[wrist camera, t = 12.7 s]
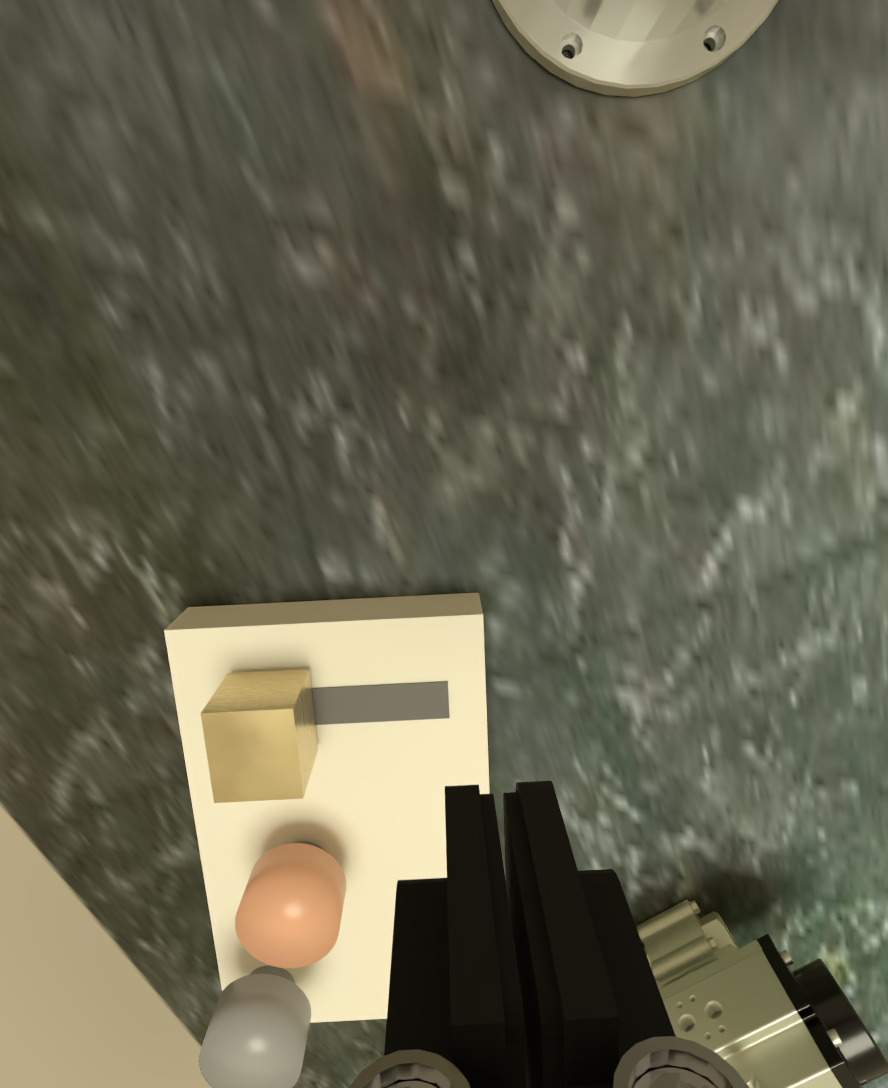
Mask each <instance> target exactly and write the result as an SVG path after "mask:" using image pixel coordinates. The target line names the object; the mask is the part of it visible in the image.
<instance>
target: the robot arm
mask: <svg viewBox="0 0 888 1088" xmlns="http://www.w3.org/2000/svg"><path fill="white" fill-rule="evenodd" d="M492 2H493V3H494V5H495V7H496V9H497V11H498V13H499V15H500V17H501V18H502V20H503V22H504V24H505V26H506V27H507V29H508V30H509V31H510V32H511V34H512V35H513V36H514V37H515V39H516V40H517V41H518V43H519V44H520V45H521V46H522V48H523V49H524V50H525V51H526V52H527V53H528V54H529V55H530V56H531V57H532V58H534V59H535V60H536V61H537V62H538V63H540V64H541V65H542V66H543V67H544V68H545V69H547V70H548V71H549V72H550V73H552V74H554V75H556V76H558V77H559V78H561V79H563V80H565V81H567V82H569V83H571V84H572V85H574V86H576V87H579V88H583V89H586V90H590V91H593V92H597V93H600V94H604V95H613V96H629V97H637V96H644V95H650V94H657V93H663V92H667V91H669V90H672V89H675V88H677V87H680V86H683V85H685V84H688V83H691V82H693V81H695V80H697V79H698V78H700V77H701V76H703V75H705V74H706V73H708V72H710V71H711V70H713V69H714V68H716V67H718V66H719V65H721V64H722V63H723V62H724V61H725V60H726V59H727V58H729V57H730V56H731V55H732V54H733V53H734V52H735V51H736V50H737V49H738V48H740V47H741V46H742V45H743V44H744V43H745V42H746V41H747V40H748V39H749V38H750V36H751V35H752V34H753V33H754V32H755V31H756V30H757V28H758V27H759V26H760V25H761V24H762V23H763V22H764V21H765V20H766V19H767V17H768V16H769V14H770V13H771V11H772V9H773V8H774V6H775V5H776V3H777V2H778V0H492ZM704 43H707V44H709V45H710V47H711V51H708V50H707V49H706V48H705V47H704ZM563 50H570V51H571V52H572V54H573V58H572V59H568V58H565V57H564V56H563V55H562V53H561V52H562V51H563ZM503 801H504V835H505V869H506V881H505V874H504V867H503V860H502V853H501V846H500V839H499V832H498V825H497V817H496V810H495V803H494V796H493V794H480V790H479V784H478V785H459V786H445V821H446V859H447V878H431V879H412V880H398V882H397V888H396V900H395V914H394V928H393V942H392V955H391V969H390V983H389V997H388V1011H387V1025H386V1039H385V1053H384V1056H383V1057H380V1058H378V1059H377V1060H375V1061H374V1062H373V1063H371V1064H370V1065H369V1066H367V1067H366V1068H365V1069H363V1070H362V1071H361V1072H360V1073H359V1075H358V1076H357V1077H356V1078H355V1080H354V1081H353V1082H352V1084H351V1085H350V1086H349V1087H348V1088H749V1087H748V1085H747V1084H746V1083H745V1081H744V1080H743V1079H742V1077H741V1076H740V1075H739V1073H738V1072H737V1071H736V1069H735V1068H734V1067H732V1066H731V1065H730V1064H729V1063H728V1062H727V1061H725V1060H724V1059H723V1058H722V1057H721V1056H719V1055H718V1054H717V1053H716V1052H714V1051H712V1050H710V1049H708V1048H706V1047H704V1046H702V1045H700V1044H699V1043H697V1042H695V1041H691V1040H687V1039H682V1038H678V1037H676V1035H675V1033H674V1030H673V1027H672V1024H671V1022H670V1019H669V1016H668V1013H667V1011H666V1008H665V1005H664V1002H663V1000H662V997H661V994H660V991H659V989H658V986H657V983H656V980H655V978H654V975H653V972H652V969H651V967H650V964H649V961H648V958H647V956H646V953H645V950H644V947H643V945H642V942H641V939H640V936H639V934H638V931H637V928H636V925H635V923H634V920H633V917H632V914H631V912H630V909H629V906H628V903H627V901H626V898H625V895H624V892H623V890H622V887H621V884H620V881H619V879H618V877H617V875H616V873H615V871H614V870H613V869H606V870H587V871H578V870H577V867H576V863H575V860H574V856H573V853H572V849H571V846H570V842H569V839H568V835H567V832H566V828H565V825H564V821H563V818H562V815H561V811H560V808H559V804H558V801H557V797H556V794H555V790H554V787H553V784H552V782H551V781H537V782H518V783H516V792H513V793H504V796H503Z"/></svg>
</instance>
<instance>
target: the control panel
mask: <svg viewBox="0 0 888 1088" xmlns="http://www.w3.org/2000/svg"><path fill="white" fill-rule="evenodd" d="M164 632H165V639H166V645H167V651H168V657H169V663H170V670H171V676H172V682H173V688H174V694H175V701H176V707H177V713H178V719H179V725H180V732H181V738H182V744H183V750H184V757H185V763H186V769H187V775H188V781H189V788H190V794H191V800H192V806H193V812H194V819H195V825H196V831H197V837H198V843H199V850H200V856H201V862H202V868H203V875H204V881H205V887H206V893H207V899H208V906H209V912H210V918H211V924H212V930H213V937H214V943H215V949H216V955H217V962H218V968H219V974H220V980H221V986H222V991H223V990H224V989H225V988H226V987H227V986H228V985H229V984H230V983H232V982H233V981H235V980H237V979H239V978H241V977H244V976H247V975H249V974H250V973H251V972H252V971H253V970H255V969H257V968H259V967H262V966H267V965H268V964H265V963H263V962H261V961H259V960H257V959H256V958H254V957H253V956H252V955H250V954H249V953H248V952H247V951H246V950H245V949H244V947H243V946H242V945H241V943H240V941H239V939H238V937H237V934H236V930H235V917H236V913H237V910H238V907H239V905H240V902H241V899H242V896H243V894H244V891H245V888H246V885H247V883H248V880H249V877H250V874H251V872H252V869H253V867H254V865H255V863H256V862H257V861H258V859H259V858H260V857H261V856H262V855H263V854H264V853H266V852H267V851H269V850H271V849H273V848H275V847H277V846H280V845H284V844H291V843H295V842H300V841H306V842H311V843H314V844H316V845H318V846H320V847H321V848H322V849H323V850H324V851H326V852H327V853H329V854H330V855H331V856H333V857H334V858H335V859H336V861H337V862H338V863H339V864H340V866H341V867H342V869H343V871H344V874H345V878H346V893H345V899H344V905H343V911H342V917H341V923H340V929H339V935H338V938H337V941H336V943H335V945H334V947H333V948H332V950H331V951H330V952H329V953H328V954H327V955H326V956H325V957H323V958H322V959H320V960H319V961H317V962H315V963H313V964H311V965H308V966H304V967H300V968H283V969H285V970H287V971H288V972H289V973H290V974H291V975H292V976H293V978H294V980H295V983H296V985H297V986H298V987H299V988H300V989H301V990H302V991H303V992H304V993H305V995H306V996H307V998H308V1000H309V1003H310V1006H311V1021H310V1023H311V1022H331V1021H350V1020H369V1019H387V1011H388V997H389V983H390V969H391V955H392V942H393V928H394V914H395V900H396V888H397V882H398V880H412V879H431V878H447V859H446V821H445V786H459V785H478V784H479V790H480V794H490V793H489V765H488V737H487V709H486V681H485V653H484V624H483V611H482V606H481V601H480V596H479V593H460V594H440V595H420V596H400V597H380V598H360V599H341V600H321V601H301V602H281V603H261V604H241V605H221V606H201V607H188V608H187V609H186V610H185V611H184V612H183V613H182V614H181V615H180V616H179V617H177V618H176V619H175V620H174V621H173V622H172V623H171V624H170V625H169V626H168V627H167V628H166V629H165V630H164ZM301 669H310V679H311V688H312V698H313V707H314V717H315V726H316V736H317V745H318V752H317V755H316V758H315V762H314V765H313V768H312V772H311V775H310V778H309V781H308V785H307V788H306V791H305V795H304V798H303V799H285V800H266V801H246V802H226V803H214V799H213V793H212V786H211V779H210V773H209V766H208V760H207V753H206V747H205V740H204V733H203V727H202V720H201V714H200V713H201V712H202V710H203V709H204V707H205V706H206V704H207V703H208V702H209V700H210V699H211V697H212V696H213V694H214V693H215V691H216V690H217V688H218V687H219V685H220V684H221V682H222V681H223V679H224V678H225V676H226V675H227V674H228V673H242V672H262V671H282V670H301Z"/></svg>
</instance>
